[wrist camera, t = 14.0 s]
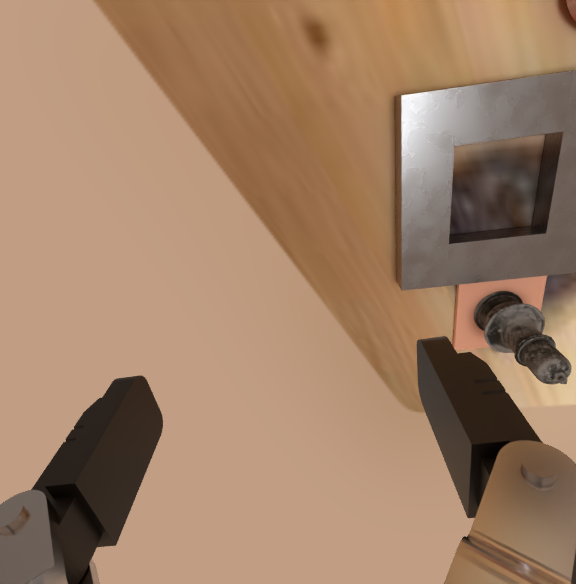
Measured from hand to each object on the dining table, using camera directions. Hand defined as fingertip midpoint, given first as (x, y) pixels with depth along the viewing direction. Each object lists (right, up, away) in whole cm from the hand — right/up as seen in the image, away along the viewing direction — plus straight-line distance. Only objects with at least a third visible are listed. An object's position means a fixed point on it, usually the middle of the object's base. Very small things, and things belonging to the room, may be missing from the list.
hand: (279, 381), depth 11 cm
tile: (+24, +1, +32) cm, 39 cm away
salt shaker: (+24, +1, +31) cm, 39 cm away
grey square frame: (+20, +13, +26) cm, 35 cm away
